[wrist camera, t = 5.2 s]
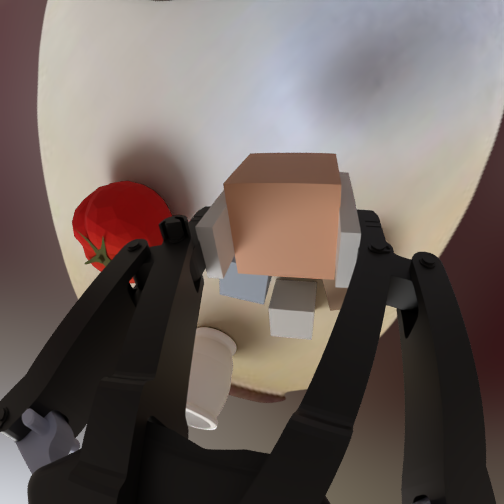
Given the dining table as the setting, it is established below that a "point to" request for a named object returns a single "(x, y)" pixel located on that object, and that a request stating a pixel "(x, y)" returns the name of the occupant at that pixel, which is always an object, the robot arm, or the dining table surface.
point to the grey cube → (292, 309)
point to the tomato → (118, 220)
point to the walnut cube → (334, 294)
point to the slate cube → (244, 285)
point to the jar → (209, 377)
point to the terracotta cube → (285, 214)
